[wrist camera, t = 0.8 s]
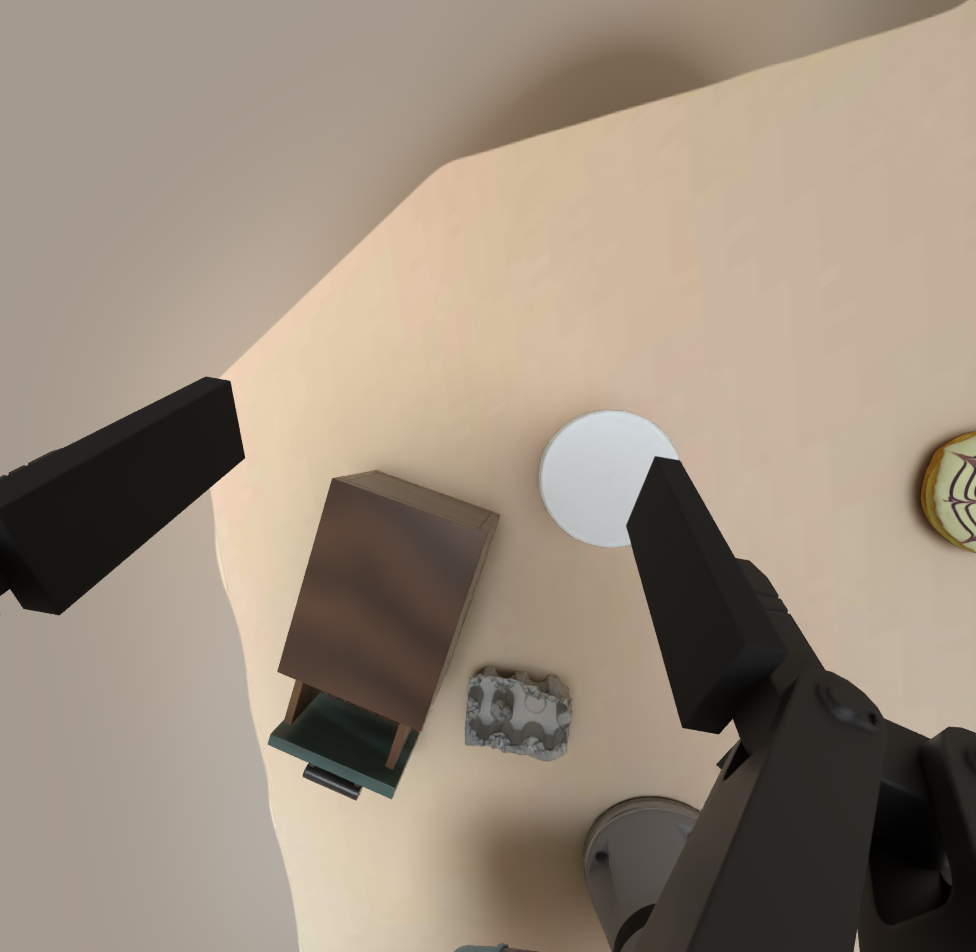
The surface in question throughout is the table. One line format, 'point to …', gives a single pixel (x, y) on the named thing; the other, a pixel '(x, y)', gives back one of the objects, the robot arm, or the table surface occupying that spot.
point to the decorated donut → (953, 491)
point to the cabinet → (386, 594)
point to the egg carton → (518, 714)
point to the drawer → (343, 743)
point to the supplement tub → (599, 473)
